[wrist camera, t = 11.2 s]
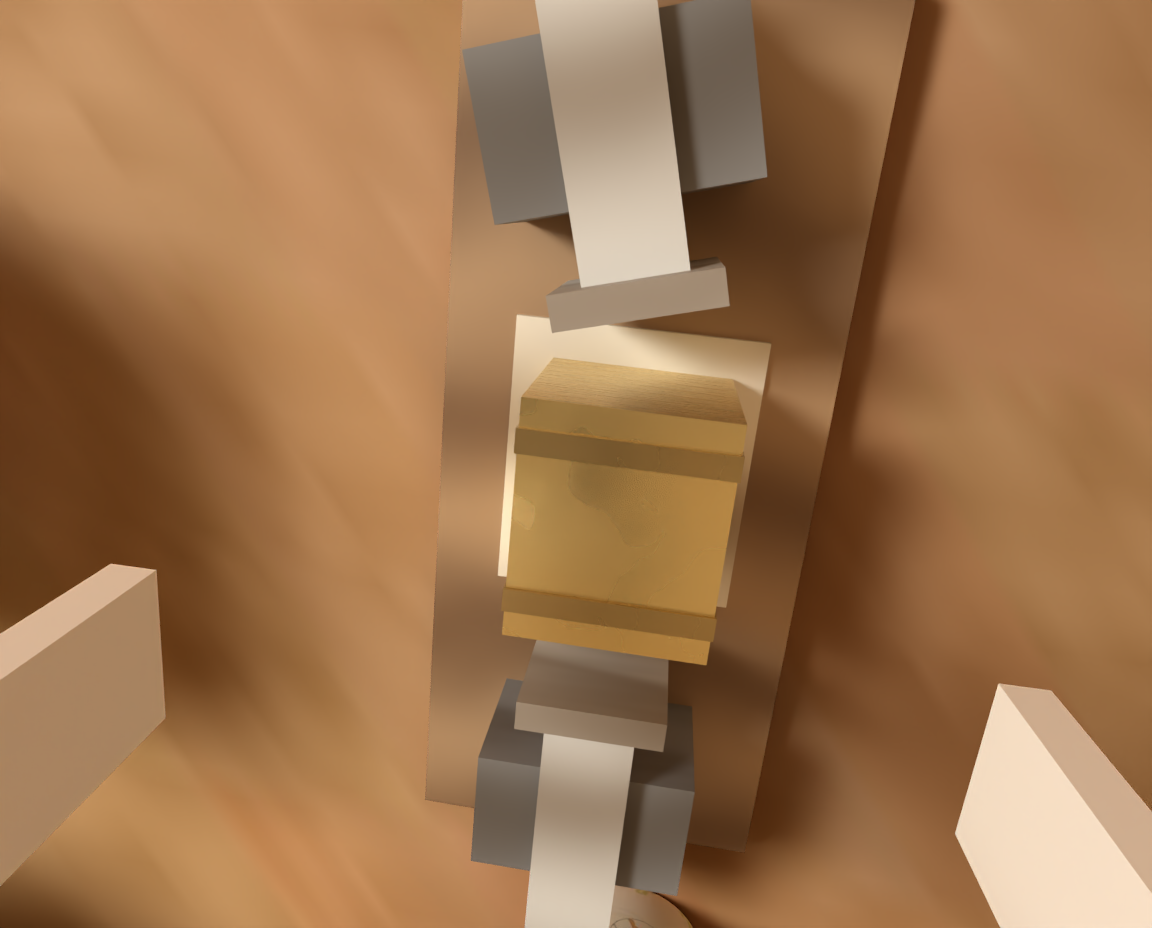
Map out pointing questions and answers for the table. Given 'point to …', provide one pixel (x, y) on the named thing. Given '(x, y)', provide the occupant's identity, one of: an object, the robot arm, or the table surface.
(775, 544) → the shaft bed
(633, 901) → the mug
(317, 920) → the table surface
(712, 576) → the block
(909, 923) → the table surface
